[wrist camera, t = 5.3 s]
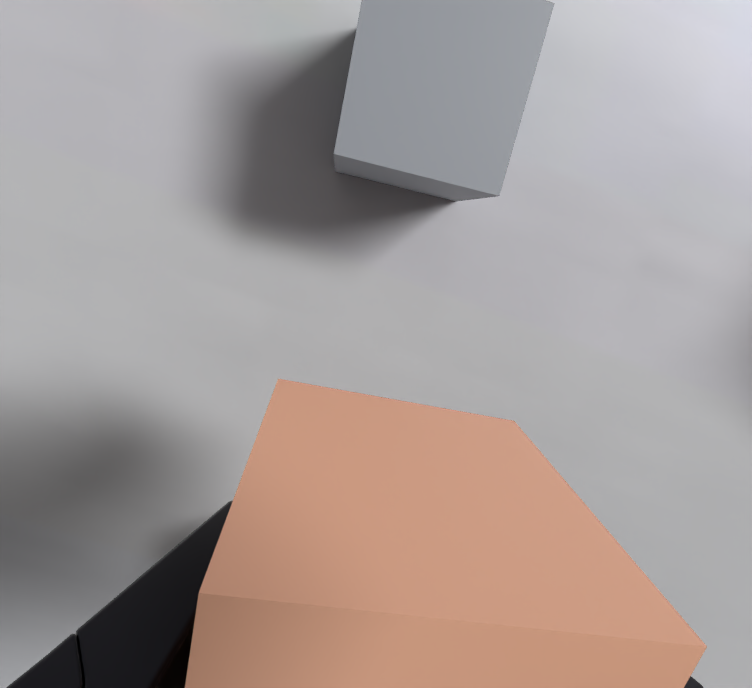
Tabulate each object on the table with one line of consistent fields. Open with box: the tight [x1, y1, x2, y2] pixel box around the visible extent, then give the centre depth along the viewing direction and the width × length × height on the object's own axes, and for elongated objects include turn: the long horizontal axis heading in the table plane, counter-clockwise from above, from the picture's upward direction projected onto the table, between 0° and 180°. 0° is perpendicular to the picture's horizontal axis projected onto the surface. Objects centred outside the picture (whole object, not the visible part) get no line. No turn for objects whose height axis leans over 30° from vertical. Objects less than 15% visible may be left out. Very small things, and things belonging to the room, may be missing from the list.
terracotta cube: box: [185, 379, 707, 688], centre depth 7 cm, size 5×5×5 cm
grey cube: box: [334, 0, 554, 201], centre depth 14 cm, size 5×5×5 cm
